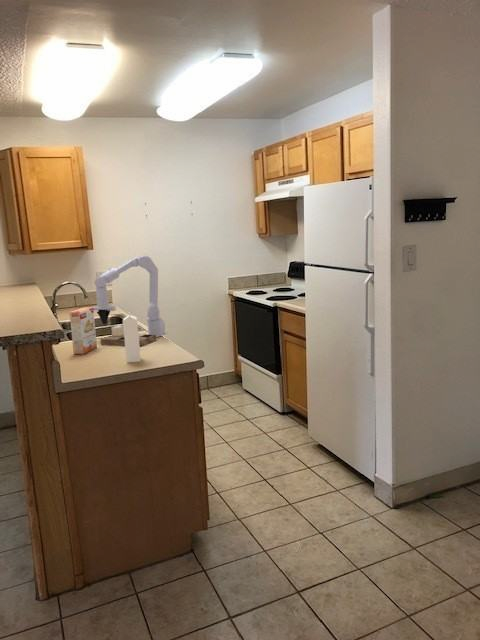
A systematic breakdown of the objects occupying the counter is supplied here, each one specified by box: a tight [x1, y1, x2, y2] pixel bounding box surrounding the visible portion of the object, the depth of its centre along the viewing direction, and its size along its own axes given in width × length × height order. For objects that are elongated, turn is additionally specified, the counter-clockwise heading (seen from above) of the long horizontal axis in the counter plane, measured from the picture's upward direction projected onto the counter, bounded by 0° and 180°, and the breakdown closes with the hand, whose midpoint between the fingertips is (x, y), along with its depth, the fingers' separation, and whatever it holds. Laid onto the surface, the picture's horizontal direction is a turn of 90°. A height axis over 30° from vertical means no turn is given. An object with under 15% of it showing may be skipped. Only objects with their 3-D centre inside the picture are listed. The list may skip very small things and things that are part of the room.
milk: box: [122, 311, 142, 363], centre depth 236 cm, size 6×6×22 cm
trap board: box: [100, 333, 157, 348], centre depth 276 cm, size 15×24×3 cm, turn 66°
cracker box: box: [69, 306, 98, 355], centre depth 261 cm, size 14×6×21 cm, turn 168°
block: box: [110, 325, 124, 336], centre depth 282 cm, size 4×4×4 cm
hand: (104, 323), depth 285 cm, fingers closed
